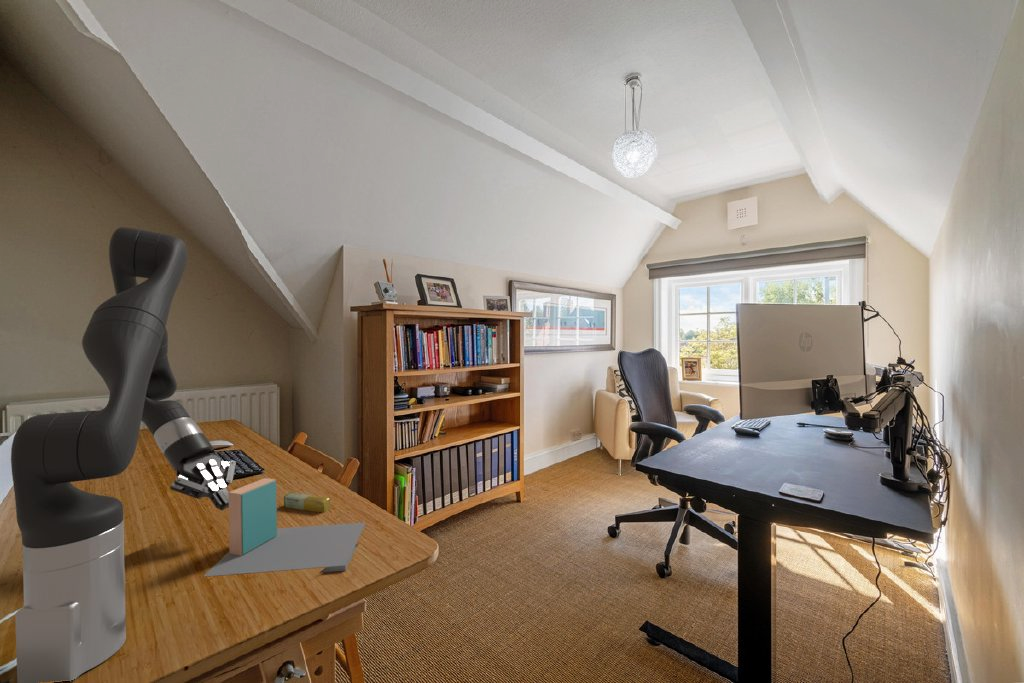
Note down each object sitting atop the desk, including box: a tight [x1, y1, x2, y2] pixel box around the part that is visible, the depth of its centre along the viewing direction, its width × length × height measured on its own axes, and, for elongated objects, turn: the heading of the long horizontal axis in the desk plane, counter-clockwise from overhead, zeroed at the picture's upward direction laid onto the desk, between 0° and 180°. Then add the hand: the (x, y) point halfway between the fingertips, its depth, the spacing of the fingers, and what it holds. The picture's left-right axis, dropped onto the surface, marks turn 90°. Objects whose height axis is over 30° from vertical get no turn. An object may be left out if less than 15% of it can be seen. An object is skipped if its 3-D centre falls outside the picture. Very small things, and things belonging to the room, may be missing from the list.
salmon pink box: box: [228, 477, 278, 556], centre depth 81 cm, size 3×8×12 cm, turn 163°
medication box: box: [283, 492, 332, 514], centre depth 99 cm, size 12×3×4 cm, turn 74°
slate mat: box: [202, 522, 367, 578], centre depth 81 cm, size 17×24×1 cm
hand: (227, 506), depth 84 cm, fingers closed
